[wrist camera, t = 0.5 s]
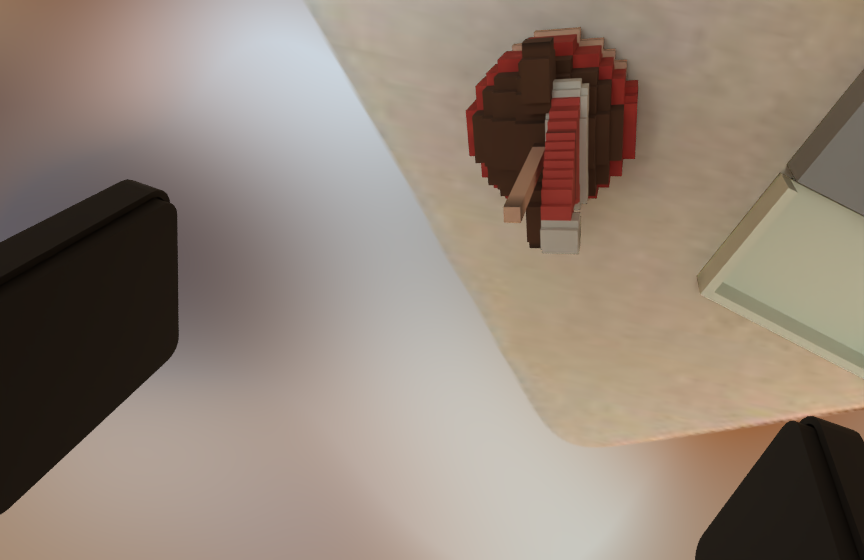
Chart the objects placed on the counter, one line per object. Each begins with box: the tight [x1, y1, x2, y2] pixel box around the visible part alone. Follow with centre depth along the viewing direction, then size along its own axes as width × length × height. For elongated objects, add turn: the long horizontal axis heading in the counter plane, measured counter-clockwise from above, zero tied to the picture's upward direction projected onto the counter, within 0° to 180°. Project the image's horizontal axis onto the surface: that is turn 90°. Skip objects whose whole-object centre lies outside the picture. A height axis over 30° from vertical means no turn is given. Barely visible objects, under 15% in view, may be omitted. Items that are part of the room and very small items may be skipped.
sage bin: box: [697, 173, 864, 379], centre depth 39 cm, size 8×13×3 cm, turn 67°
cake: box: [466, 27, 638, 254], centre depth 33 cm, size 11×9×18 cm
